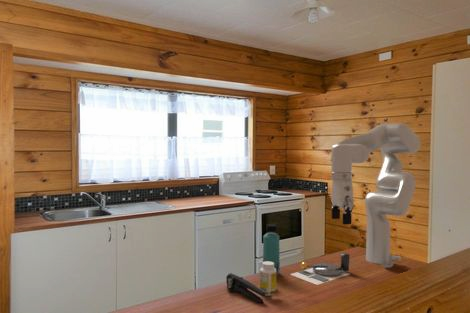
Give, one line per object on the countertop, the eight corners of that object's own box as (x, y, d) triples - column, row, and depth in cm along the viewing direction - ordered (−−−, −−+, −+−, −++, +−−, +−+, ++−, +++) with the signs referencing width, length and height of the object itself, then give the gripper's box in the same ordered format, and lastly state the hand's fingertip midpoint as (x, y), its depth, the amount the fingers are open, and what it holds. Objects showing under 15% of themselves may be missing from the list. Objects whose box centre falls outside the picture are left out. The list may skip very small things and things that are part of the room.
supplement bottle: (275, 290, 120) (275, 260, 120) (276, 296, 115) (277, 265, 115) (259, 289, 120) (259, 260, 120) (260, 296, 115) (260, 265, 115)
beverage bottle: (278, 280, 129) (279, 227, 129) (261, 279, 131) (262, 225, 131) (280, 274, 136) (281, 223, 136) (263, 273, 137) (264, 222, 137)
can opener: (221, 289, 121) (221, 272, 121) (236, 284, 125) (237, 269, 125) (254, 307, 107) (255, 289, 107) (271, 301, 111) (271, 284, 111)
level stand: (323, 268, 144) (323, 263, 144) (350, 277, 134) (350, 272, 134) (289, 278, 132) (289, 273, 132) (316, 289, 122) (317, 283, 122)
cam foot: (343, 266, 141) (344, 250, 141) (354, 276, 130) (354, 258, 130) (297, 266, 141) (298, 249, 141) (304, 276, 130) (304, 258, 130)
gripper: (362, 178, 125) (361, 226, 125) (340, 175, 142) (340, 216, 142) (342, 178, 124) (341, 226, 124) (323, 175, 141) (323, 217, 141)
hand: (341, 221), depth 133 cm, fingers open, 9 cm apart
